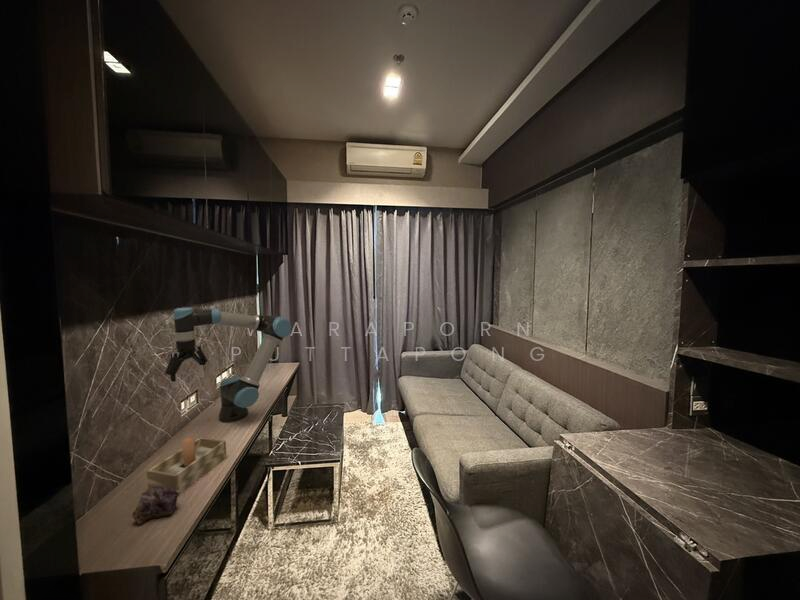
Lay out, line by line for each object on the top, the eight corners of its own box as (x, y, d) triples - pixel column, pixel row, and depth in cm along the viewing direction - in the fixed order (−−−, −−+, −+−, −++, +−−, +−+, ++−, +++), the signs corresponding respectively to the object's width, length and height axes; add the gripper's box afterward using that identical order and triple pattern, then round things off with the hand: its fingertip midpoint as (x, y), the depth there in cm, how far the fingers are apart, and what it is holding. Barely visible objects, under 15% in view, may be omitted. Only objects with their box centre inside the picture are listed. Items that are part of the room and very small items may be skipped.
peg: (191, 468, 129) (188, 436, 127) (198, 469, 128) (196, 437, 126) (182, 475, 125) (179, 441, 123) (190, 476, 124) (187, 442, 122)
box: (201, 453, 139) (200, 437, 139) (226, 457, 136) (225, 440, 136) (148, 490, 116) (146, 471, 115) (177, 495, 113) (175, 476, 112)
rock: (169, 523, 102) (181, 501, 112) (171, 500, 101) (184, 480, 111) (128, 526, 99) (145, 503, 108) (130, 503, 98) (146, 481, 108)
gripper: (201, 334, 155) (204, 373, 157) (152, 345, 131) (157, 391, 133) (213, 334, 154) (216, 373, 156) (166, 346, 130) (170, 393, 132)
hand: (189, 382), depth 145 cm, fingers open, 13 cm apart
